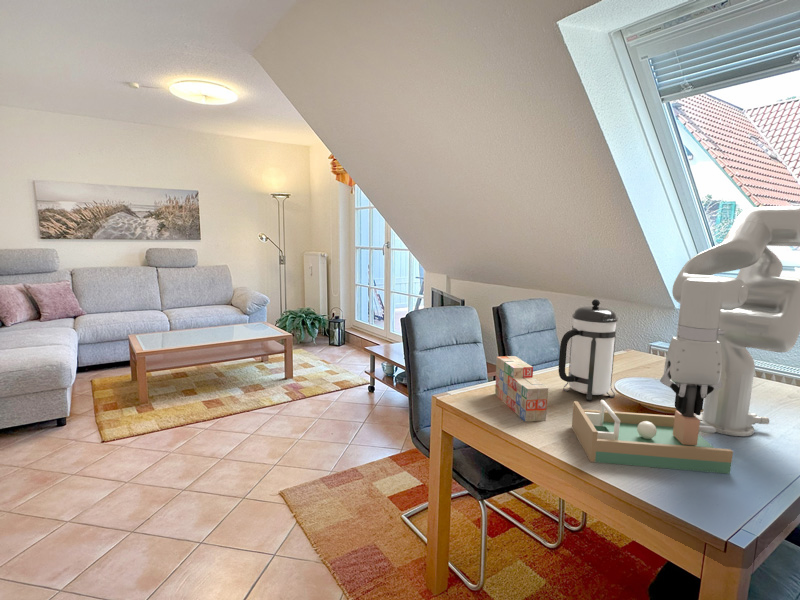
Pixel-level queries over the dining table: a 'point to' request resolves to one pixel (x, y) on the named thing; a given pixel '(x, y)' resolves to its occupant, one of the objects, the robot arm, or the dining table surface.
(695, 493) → the dining table surface
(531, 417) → the stack of blocks
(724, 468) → the pitch
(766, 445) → the dining table surface
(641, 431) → the ball
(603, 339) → the coffee press
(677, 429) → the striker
